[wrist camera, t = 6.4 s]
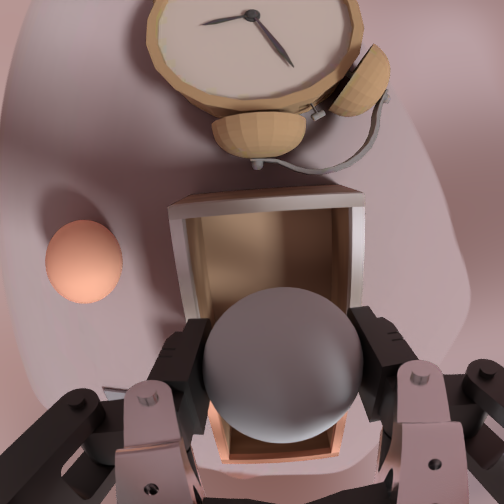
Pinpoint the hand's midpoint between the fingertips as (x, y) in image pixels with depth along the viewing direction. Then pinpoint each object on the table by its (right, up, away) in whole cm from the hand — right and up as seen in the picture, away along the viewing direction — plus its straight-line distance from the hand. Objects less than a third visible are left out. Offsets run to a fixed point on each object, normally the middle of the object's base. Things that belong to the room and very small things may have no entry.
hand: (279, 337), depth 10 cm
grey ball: (0, -1, -2) cm, 2 cm away
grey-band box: (0, +3, +8) cm, 8 cm away
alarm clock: (0, +14, +5) cm, 15 cm away
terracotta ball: (-11, +2, +5) cm, 13 cm away
